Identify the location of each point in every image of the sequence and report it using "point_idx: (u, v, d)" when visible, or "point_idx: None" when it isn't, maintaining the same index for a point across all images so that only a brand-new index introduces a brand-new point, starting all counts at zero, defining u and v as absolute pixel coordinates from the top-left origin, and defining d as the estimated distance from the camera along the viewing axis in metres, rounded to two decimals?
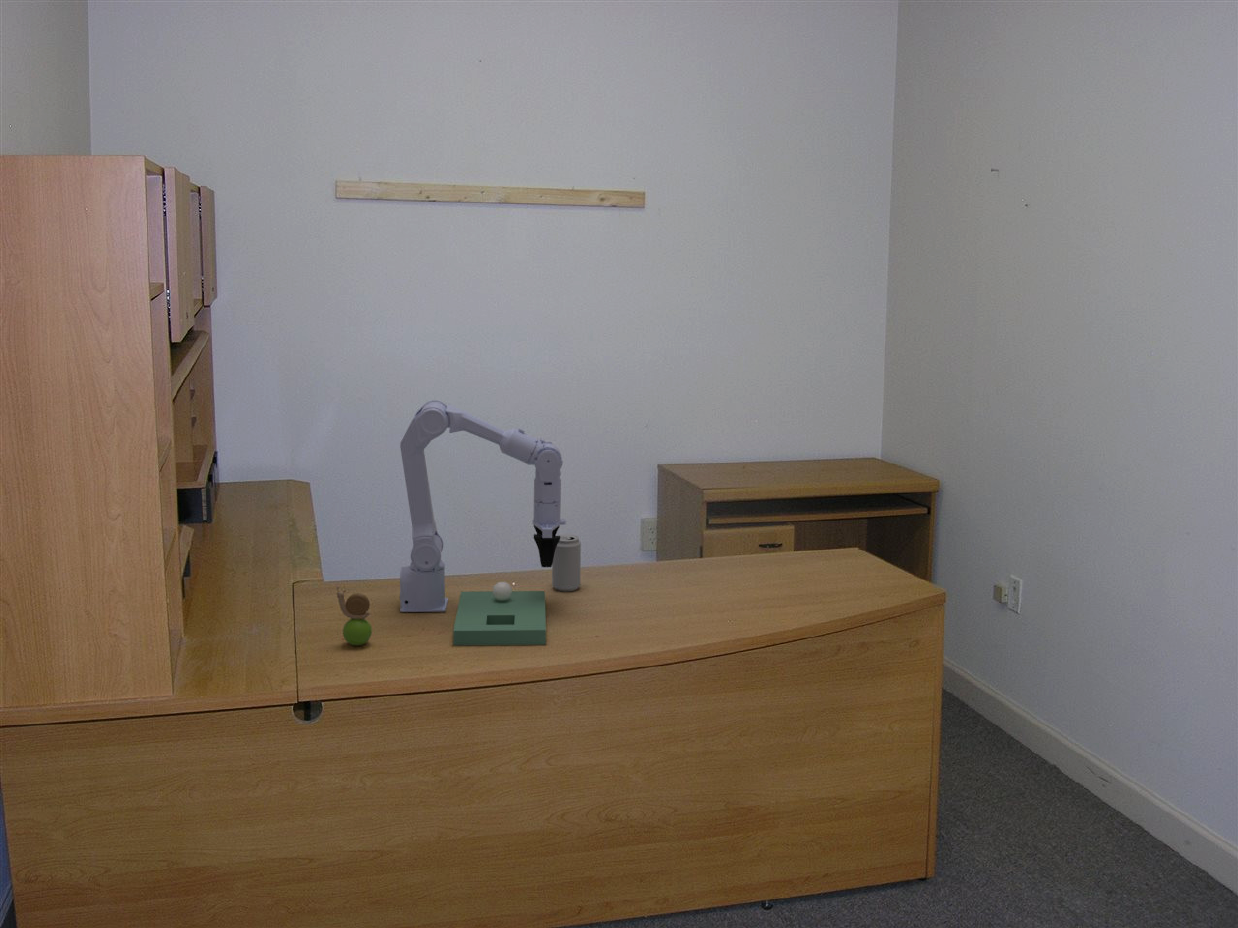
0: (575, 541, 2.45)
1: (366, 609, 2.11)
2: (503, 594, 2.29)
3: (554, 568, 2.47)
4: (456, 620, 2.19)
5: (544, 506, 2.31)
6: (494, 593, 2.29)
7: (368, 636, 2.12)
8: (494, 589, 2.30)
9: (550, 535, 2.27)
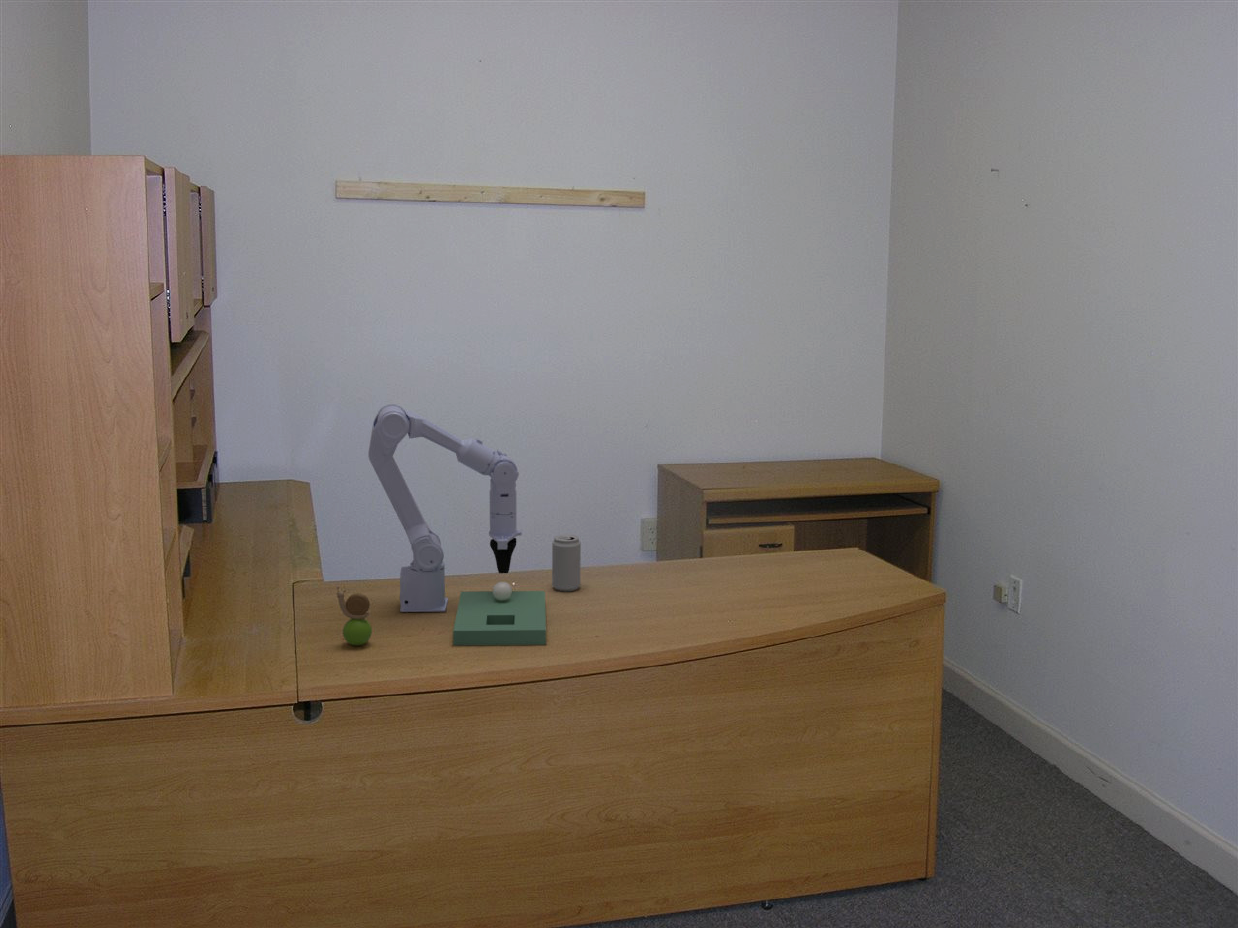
0: (575, 541, 2.45)
1: (366, 609, 2.11)
2: (503, 594, 2.29)
3: (554, 568, 2.47)
4: (456, 620, 2.19)
5: (499, 518, 2.32)
6: (494, 593, 2.29)
7: (368, 636, 2.12)
8: (494, 589, 2.30)
9: (505, 546, 2.29)
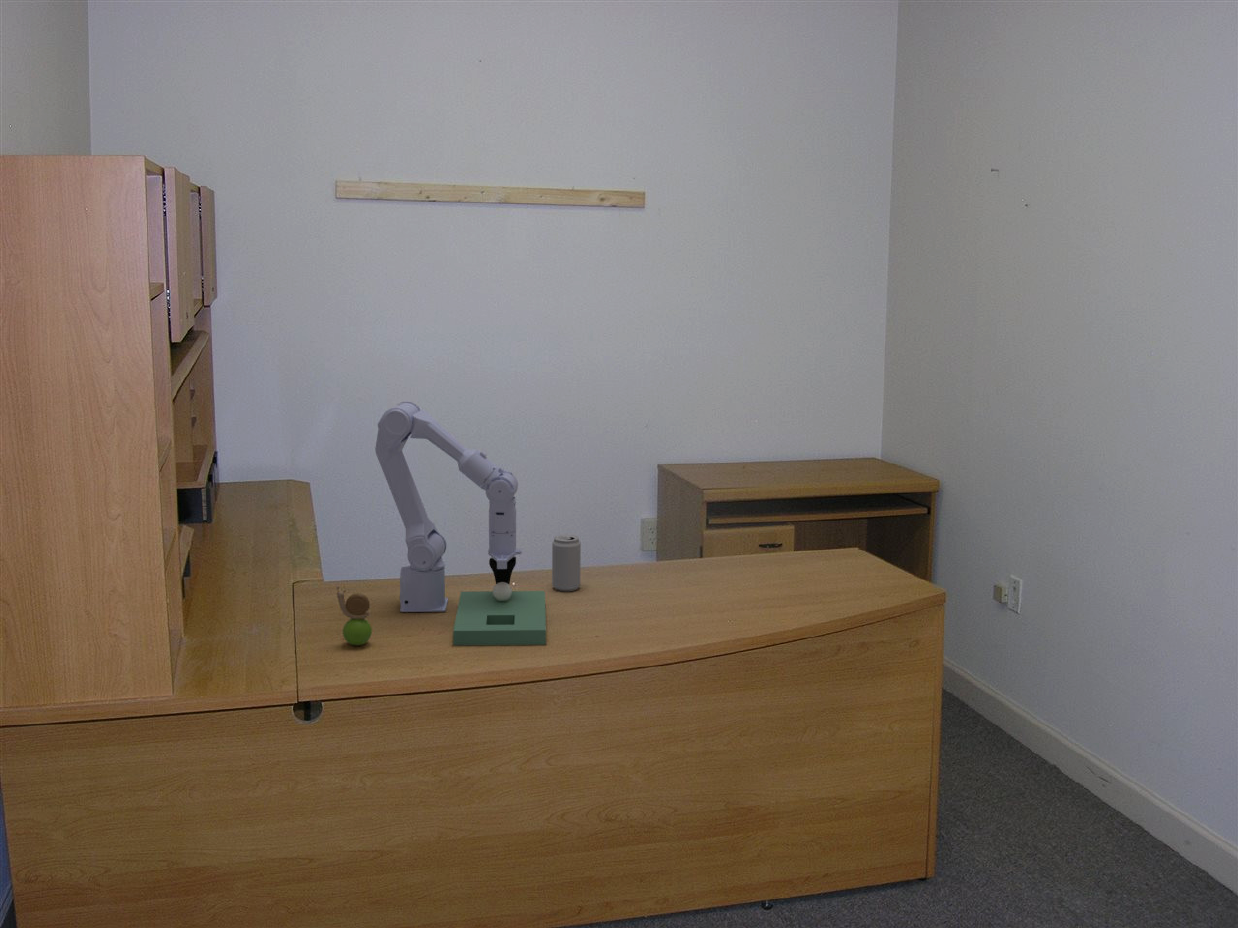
0: (575, 541, 2.45)
1: (366, 609, 2.11)
2: (503, 595, 2.29)
3: (554, 568, 2.47)
4: (456, 620, 2.19)
5: (499, 536, 2.28)
6: (494, 594, 2.29)
7: (368, 636, 2.12)
8: (494, 590, 2.29)
9: (505, 566, 2.25)
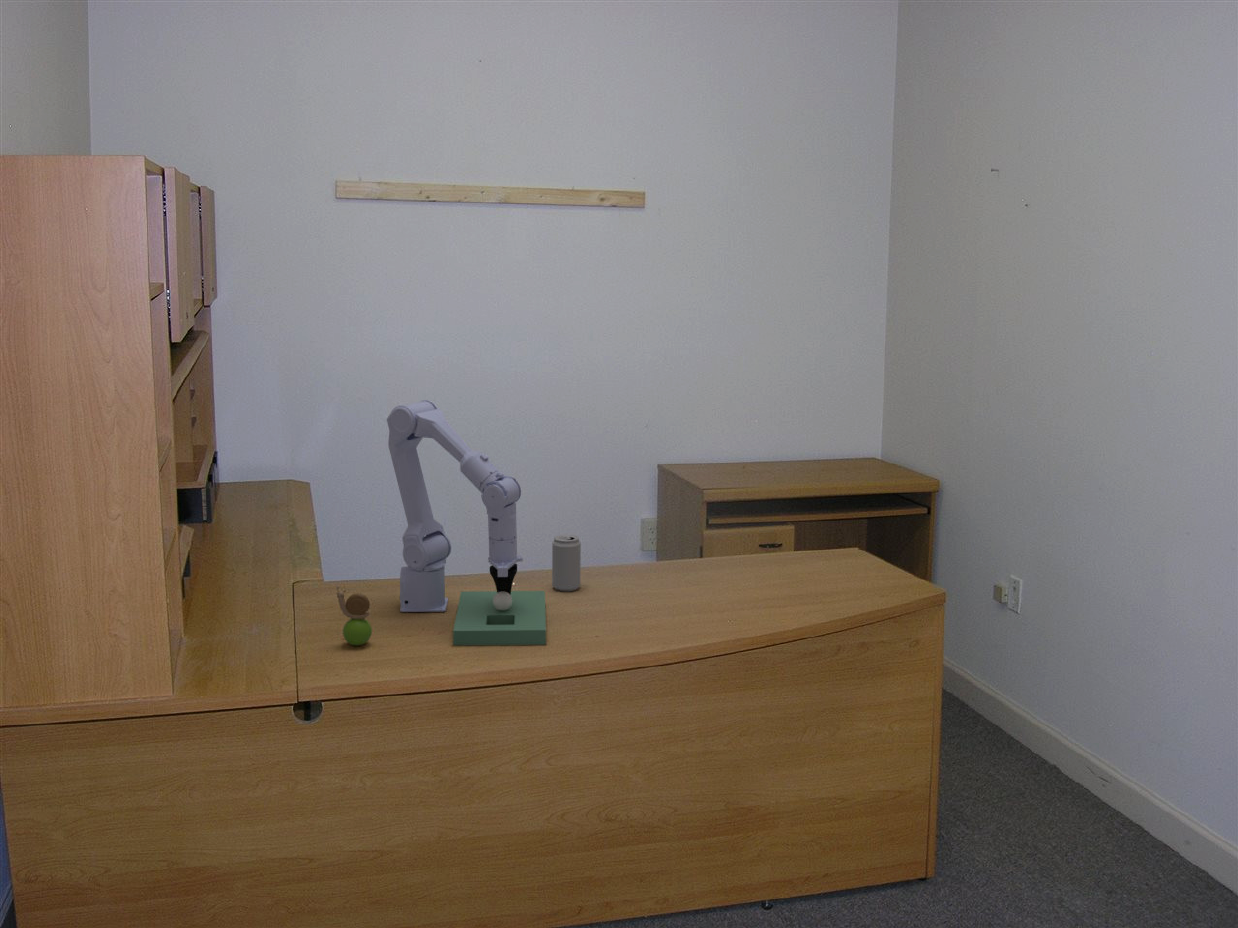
0: (575, 541, 2.45)
1: (366, 609, 2.11)
2: None
3: (554, 568, 2.47)
4: (456, 620, 2.19)
5: (499, 543, 2.21)
6: None
7: (368, 636, 2.12)
8: None
9: (506, 574, 2.18)
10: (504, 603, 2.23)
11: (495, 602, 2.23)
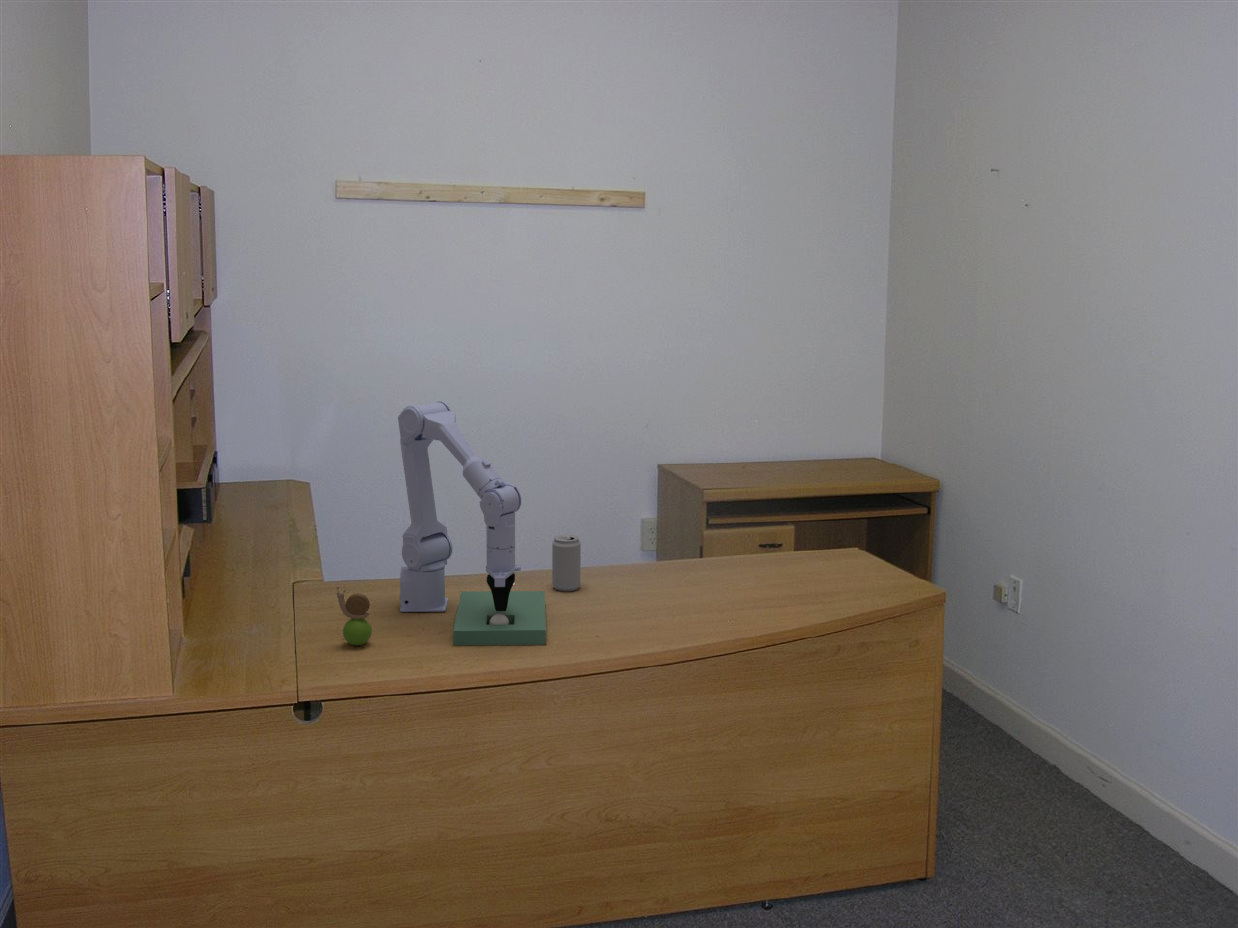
0: (575, 541, 2.45)
1: (366, 609, 2.11)
2: (500, 620, 2.18)
3: (554, 568, 2.47)
4: (456, 620, 2.19)
5: (497, 552, 2.17)
6: (491, 621, 2.19)
7: (368, 636, 2.12)
8: (491, 618, 2.20)
9: (503, 584, 2.13)
10: None
11: None
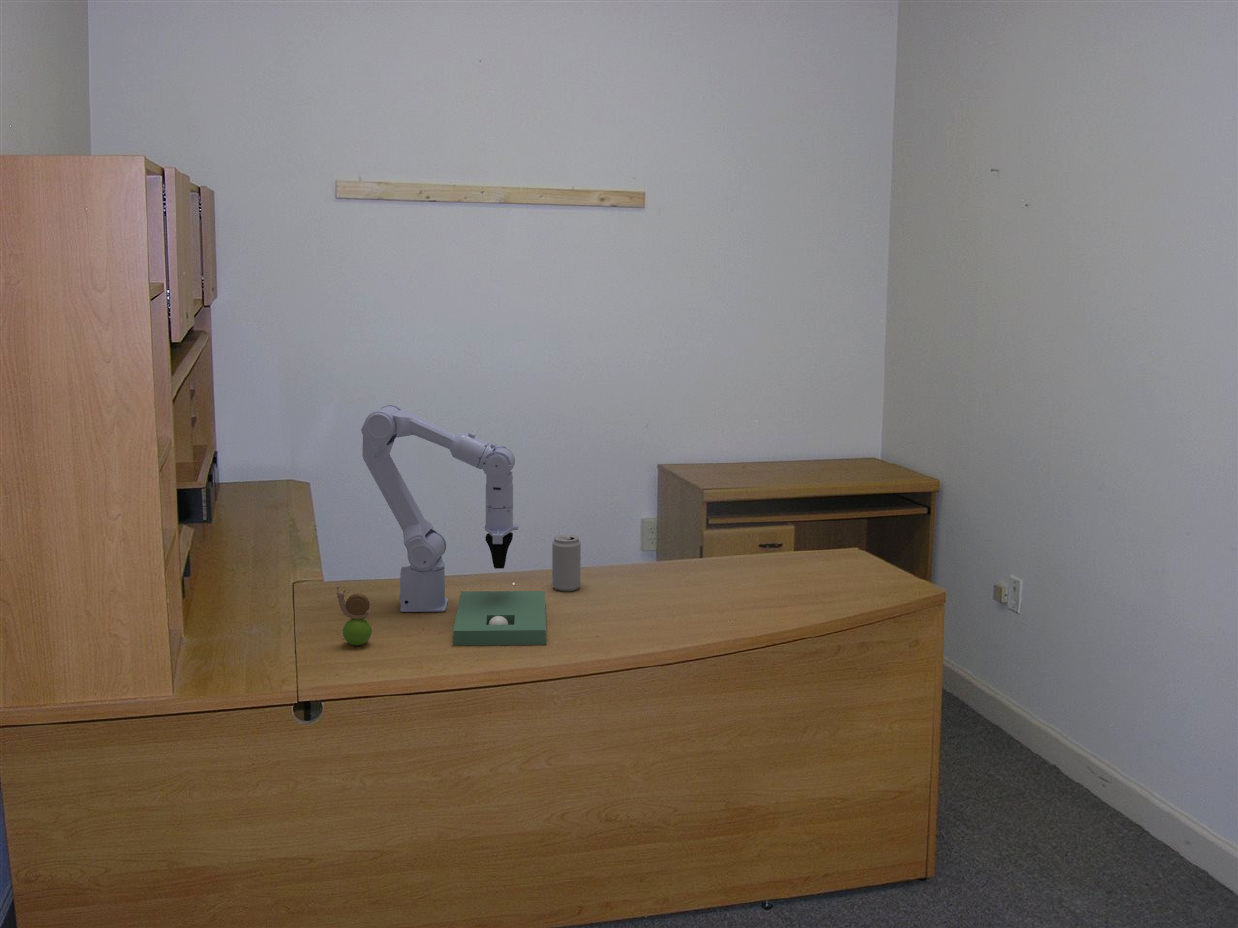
0: (575, 541, 2.45)
1: (366, 609, 2.11)
2: None
3: (554, 568, 2.47)
4: (456, 620, 2.19)
5: (495, 511, 2.27)
6: None
7: (368, 636, 2.12)
8: (490, 623, 2.18)
9: (500, 541, 2.24)
10: None
11: None
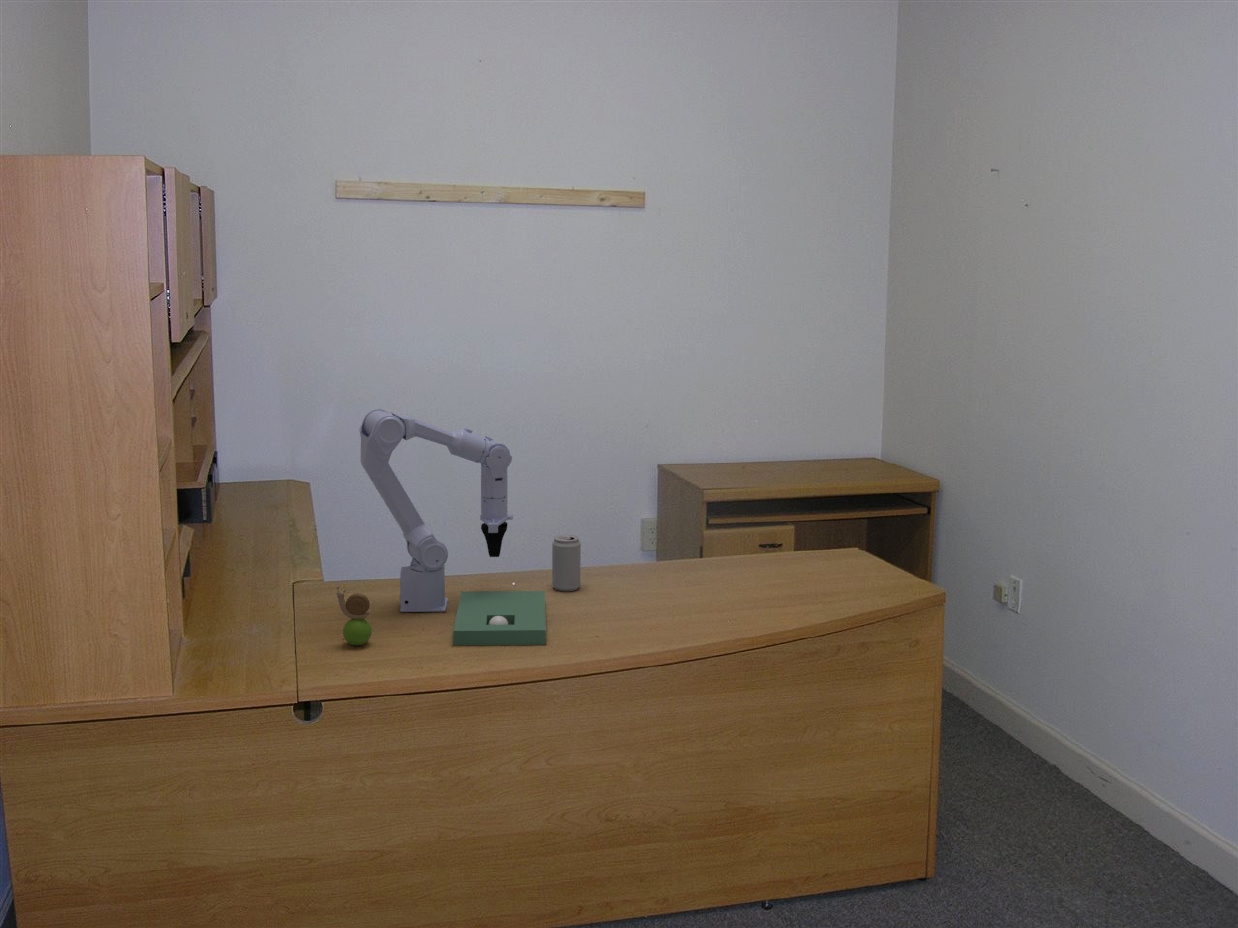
0: (575, 541, 2.45)
1: (366, 609, 2.11)
2: None
3: (554, 568, 2.47)
4: (456, 620, 2.19)
5: (491, 502, 2.35)
6: None
7: (368, 636, 2.12)
8: (490, 623, 2.18)
9: (496, 530, 2.32)
10: None
11: None
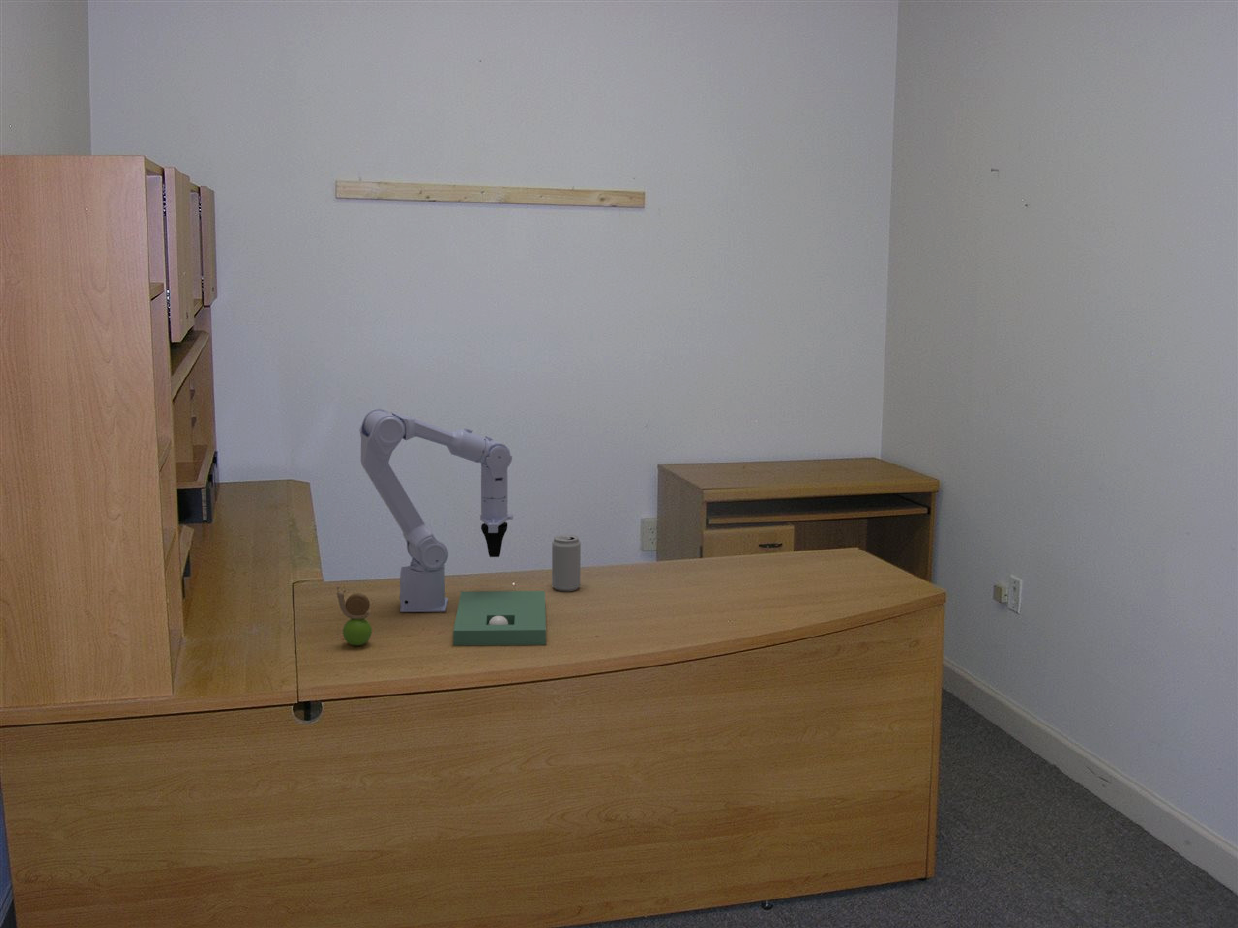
0: (575, 541, 2.45)
1: (366, 609, 2.11)
2: None
3: (554, 568, 2.47)
4: (456, 620, 2.19)
5: (491, 502, 2.35)
6: None
7: (368, 636, 2.12)
8: (490, 622, 2.18)
9: (496, 530, 2.32)
10: None
11: None
